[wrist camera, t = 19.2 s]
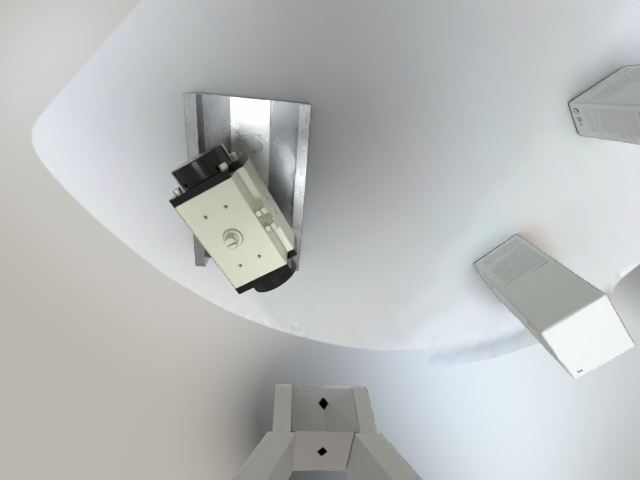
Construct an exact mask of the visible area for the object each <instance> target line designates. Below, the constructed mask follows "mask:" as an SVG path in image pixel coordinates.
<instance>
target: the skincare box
mask: <svg viewBox="0 0 640 480" xmlns="http://www.w3.org/2000/svg"><path fill="white" fill-rule="evenodd" d="M569 105H570V109H571V113H572V116H573V119H574V122H575V125H576V128H577V130H578V133H579V135H581V136H586V137H592V138H599V139H605V140H612V141H619V142H625V143H632V144H639V145H640V65H632V66H624V67H623V68H621V69H620V70H618V71H617V72H615V73H614V74H612V75H611V76H609V77H608V78H606V79H604V80H603V81H601V82H600V83H598V84H597V85H595V86H594V87H592V88H591V89H589V90H588V91H586V92H585V93H583V94H582V95H580V96H579V97H577V98H575V99H574V100H572V101H571V102H570V103H569Z"/></svg>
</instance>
